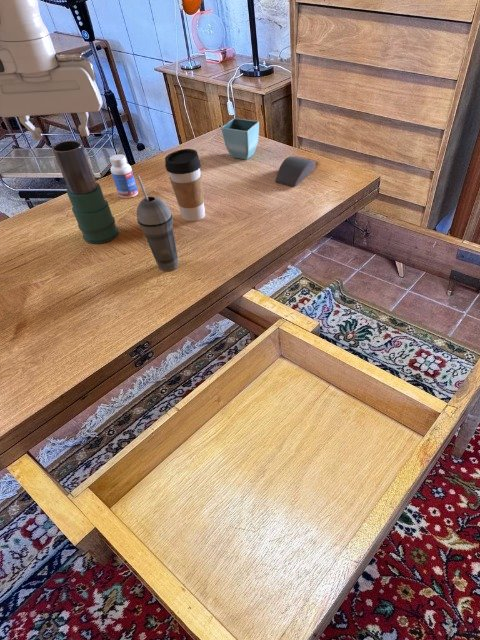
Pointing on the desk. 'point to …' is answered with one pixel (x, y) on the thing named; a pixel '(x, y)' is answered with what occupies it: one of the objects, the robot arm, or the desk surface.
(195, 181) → the coffee cup
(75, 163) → the charcoal cup
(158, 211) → the beverage cup
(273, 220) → the desk surface
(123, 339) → the desk surface
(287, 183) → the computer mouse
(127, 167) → the pill bottle
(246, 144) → the flower pot
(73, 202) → the cup stack
